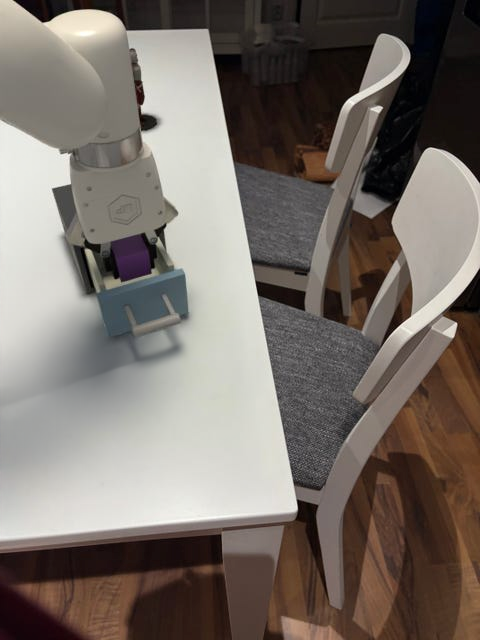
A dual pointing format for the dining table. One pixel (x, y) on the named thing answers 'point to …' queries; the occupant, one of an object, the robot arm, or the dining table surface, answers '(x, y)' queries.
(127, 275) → the cube
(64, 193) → the grey drawer cabinet
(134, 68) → the figurine
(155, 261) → the drawer
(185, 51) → the dining table surface
